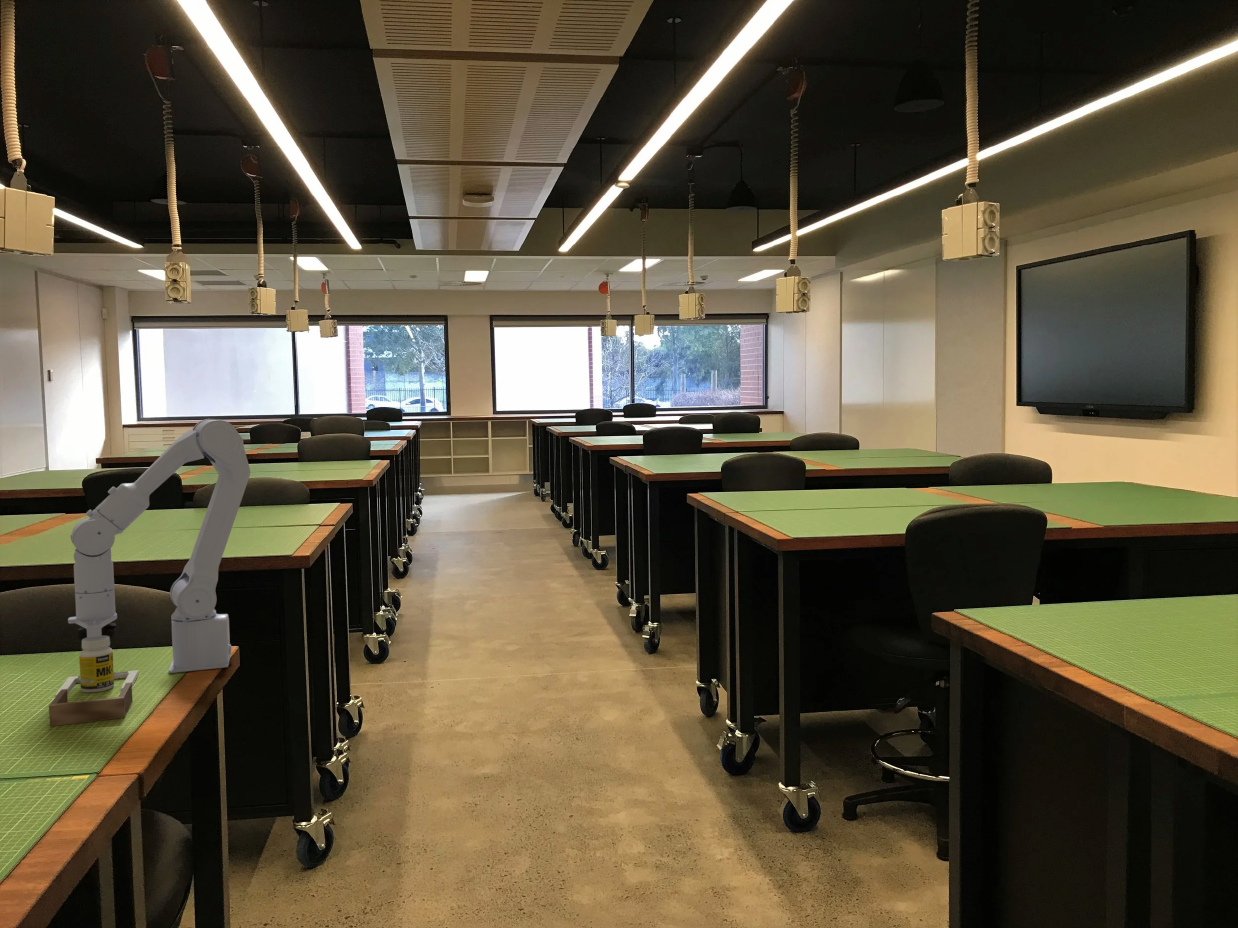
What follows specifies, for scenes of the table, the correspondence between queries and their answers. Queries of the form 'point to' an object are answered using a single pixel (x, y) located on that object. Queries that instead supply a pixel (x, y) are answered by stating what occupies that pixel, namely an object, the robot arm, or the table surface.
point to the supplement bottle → (96, 664)
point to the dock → (128, 675)
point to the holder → (89, 708)
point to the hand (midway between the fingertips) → (98, 669)
